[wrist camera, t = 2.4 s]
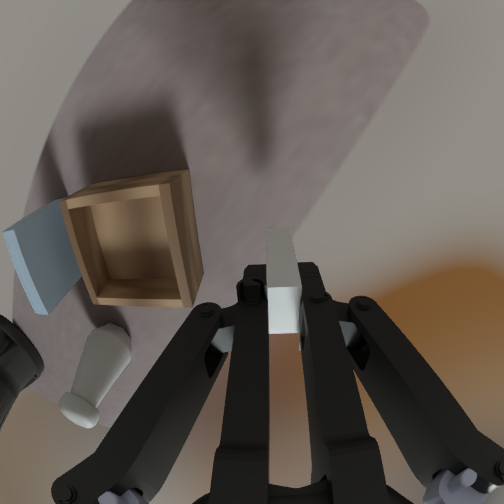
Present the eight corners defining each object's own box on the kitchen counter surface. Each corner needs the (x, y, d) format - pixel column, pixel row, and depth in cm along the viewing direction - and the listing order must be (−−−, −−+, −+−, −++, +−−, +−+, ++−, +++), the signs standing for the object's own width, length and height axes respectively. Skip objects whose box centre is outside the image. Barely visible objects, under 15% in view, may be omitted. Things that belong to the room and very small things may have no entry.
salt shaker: (95, 310, 28) (43, 394, 16) (137, 327, 28) (95, 421, 17) (98, 341, 30) (58, 418, 19) (136, 356, 31) (104, 440, 19)
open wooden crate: (115, 274, 25) (93, 304, 21) (92, 184, 21) (59, 201, 16) (203, 273, 25) (192, 307, 20) (189, 169, 20) (169, 183, 16)
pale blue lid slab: (75, 269, 25) (35, 313, 18) (55, 199, 21) (2, 232, 14) (88, 269, 25) (48, 315, 18) (68, 196, 21) (13, 229, 14)
